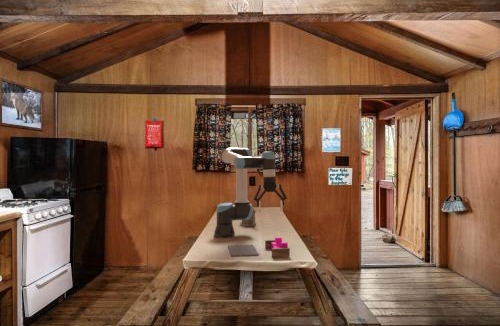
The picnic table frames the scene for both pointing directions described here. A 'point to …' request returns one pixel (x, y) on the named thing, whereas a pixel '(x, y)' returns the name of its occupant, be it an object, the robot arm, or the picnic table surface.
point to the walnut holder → (277, 250)
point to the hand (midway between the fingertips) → (270, 211)
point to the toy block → (279, 243)
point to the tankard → (249, 220)
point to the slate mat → (242, 250)
